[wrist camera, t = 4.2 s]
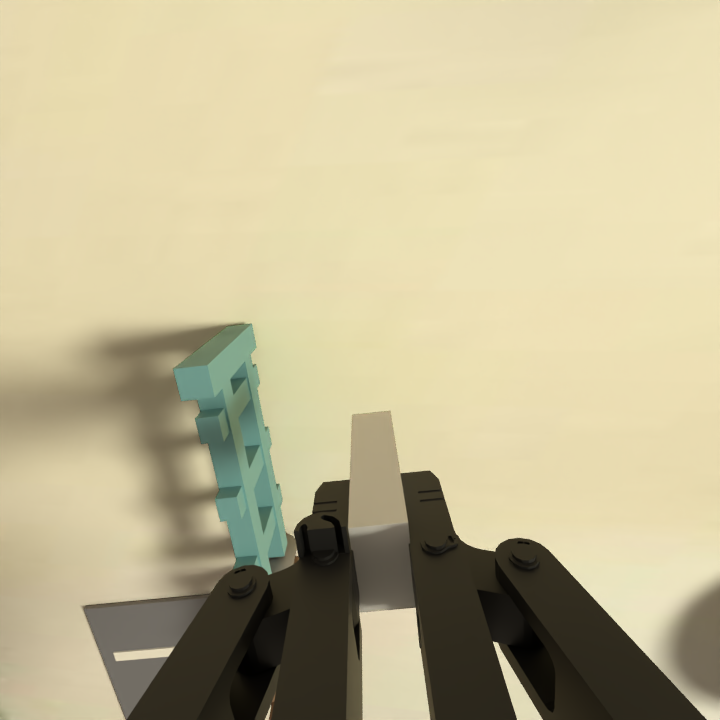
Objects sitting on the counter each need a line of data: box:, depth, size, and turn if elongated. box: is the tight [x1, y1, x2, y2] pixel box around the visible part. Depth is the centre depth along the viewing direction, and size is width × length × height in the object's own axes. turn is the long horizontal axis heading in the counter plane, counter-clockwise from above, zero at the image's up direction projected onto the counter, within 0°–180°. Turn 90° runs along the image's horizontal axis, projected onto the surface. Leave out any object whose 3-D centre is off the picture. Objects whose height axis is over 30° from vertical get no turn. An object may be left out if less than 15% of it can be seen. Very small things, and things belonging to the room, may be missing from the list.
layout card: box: [84, 594, 210, 720], centre depth 33 cm, size 12×10×1 cm
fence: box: [173, 324, 297, 575], centre depth 24 cm, size 16×2×8 cm, turn 7°
